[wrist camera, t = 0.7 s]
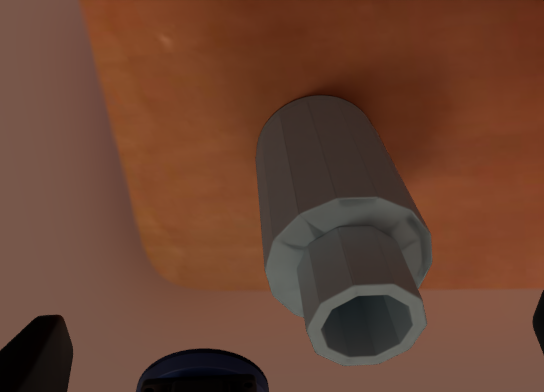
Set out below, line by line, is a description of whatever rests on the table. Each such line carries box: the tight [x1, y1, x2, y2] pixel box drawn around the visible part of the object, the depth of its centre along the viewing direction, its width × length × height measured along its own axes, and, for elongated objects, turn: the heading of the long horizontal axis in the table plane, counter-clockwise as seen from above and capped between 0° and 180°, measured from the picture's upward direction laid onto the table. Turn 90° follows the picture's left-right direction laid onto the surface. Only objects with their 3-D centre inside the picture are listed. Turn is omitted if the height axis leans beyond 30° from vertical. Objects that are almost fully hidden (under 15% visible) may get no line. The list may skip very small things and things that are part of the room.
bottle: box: [256, 95, 432, 366], centre depth 18 cm, size 5×5×10 cm
